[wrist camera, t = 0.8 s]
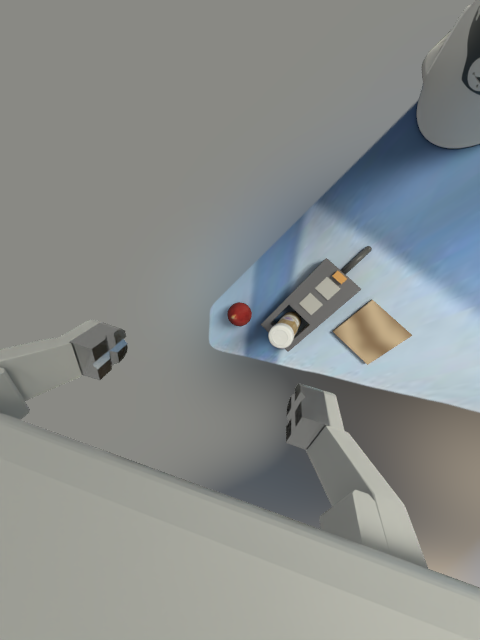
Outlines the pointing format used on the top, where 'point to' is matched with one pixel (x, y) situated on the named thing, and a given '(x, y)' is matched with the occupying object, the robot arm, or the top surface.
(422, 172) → the top surface
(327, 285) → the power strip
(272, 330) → the sprinkles bottle
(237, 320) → the onion
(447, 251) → the top surface
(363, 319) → the wooden mat
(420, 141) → the top surface
